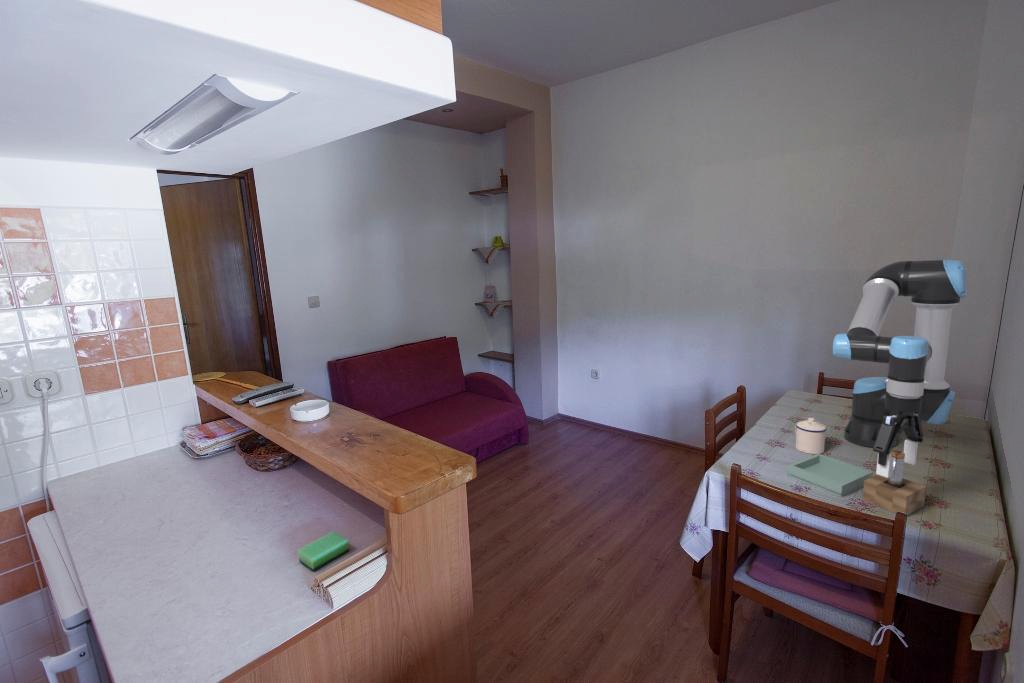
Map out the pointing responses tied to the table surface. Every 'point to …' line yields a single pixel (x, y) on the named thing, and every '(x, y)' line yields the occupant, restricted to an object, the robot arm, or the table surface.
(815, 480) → the tray
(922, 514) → the table surface
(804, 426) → the teacup with lid
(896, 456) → the pin
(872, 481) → the block
